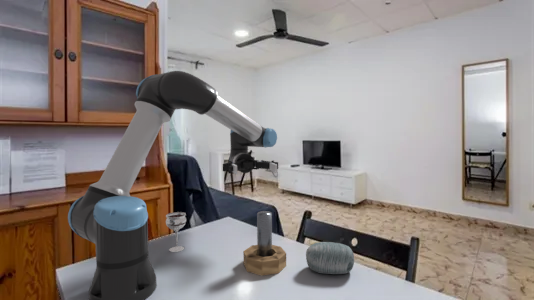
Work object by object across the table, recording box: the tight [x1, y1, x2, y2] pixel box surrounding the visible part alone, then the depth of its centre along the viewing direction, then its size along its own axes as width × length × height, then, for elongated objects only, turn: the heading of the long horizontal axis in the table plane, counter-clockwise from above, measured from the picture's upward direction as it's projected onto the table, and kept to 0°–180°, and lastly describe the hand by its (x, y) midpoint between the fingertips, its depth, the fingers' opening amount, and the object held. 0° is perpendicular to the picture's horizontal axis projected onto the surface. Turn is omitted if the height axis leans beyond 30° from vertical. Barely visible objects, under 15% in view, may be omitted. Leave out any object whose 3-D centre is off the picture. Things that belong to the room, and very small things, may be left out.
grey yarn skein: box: [305, 241, 355, 275], centre depth 82 cm, size 14×10×10 cm
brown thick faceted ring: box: [243, 244, 287, 277], centre depth 86 cm, size 12×12×4 cm
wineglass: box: [165, 211, 187, 253], centre depth 98 cm, size 7×7×12 cm
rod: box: [256, 210, 273, 257], centre depth 86 cm, size 4×4×16 cm
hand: (256, 169), depth 94 cm, fingers open, 13 cm apart
